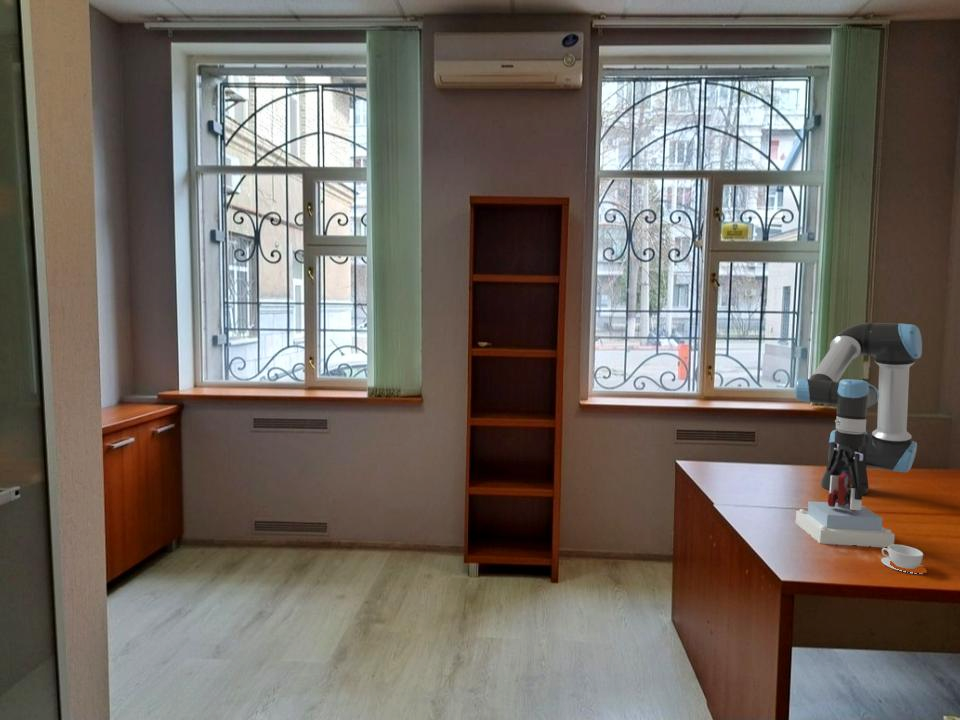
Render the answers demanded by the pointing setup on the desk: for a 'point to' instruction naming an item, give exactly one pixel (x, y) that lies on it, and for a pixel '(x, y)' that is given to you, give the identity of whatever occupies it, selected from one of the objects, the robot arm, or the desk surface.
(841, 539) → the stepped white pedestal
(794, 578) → the desk surface
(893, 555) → the teacup
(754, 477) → the desk surface
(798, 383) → the robot arm
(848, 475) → the red toy vehicle
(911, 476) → the desk surface
